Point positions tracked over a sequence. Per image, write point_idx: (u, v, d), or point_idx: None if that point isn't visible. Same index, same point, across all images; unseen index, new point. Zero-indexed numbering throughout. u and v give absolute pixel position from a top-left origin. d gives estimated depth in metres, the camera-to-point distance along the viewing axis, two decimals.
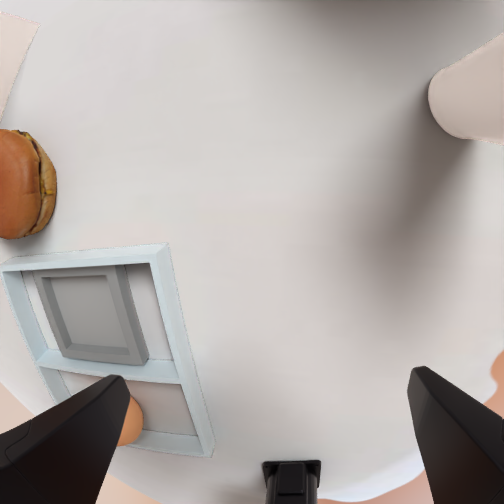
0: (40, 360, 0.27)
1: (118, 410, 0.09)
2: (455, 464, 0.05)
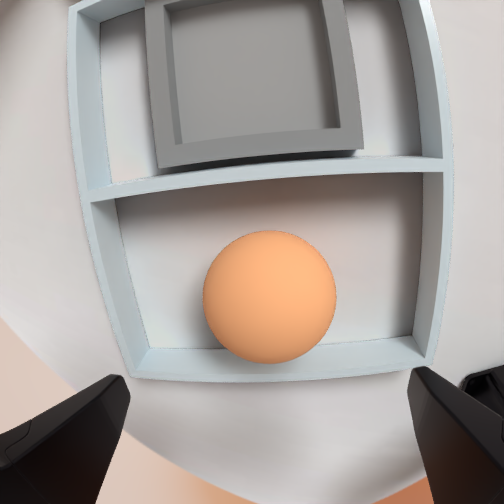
0: (98, 188, 0.15)
1: (118, 410, 0.09)
2: (454, 464, 0.05)
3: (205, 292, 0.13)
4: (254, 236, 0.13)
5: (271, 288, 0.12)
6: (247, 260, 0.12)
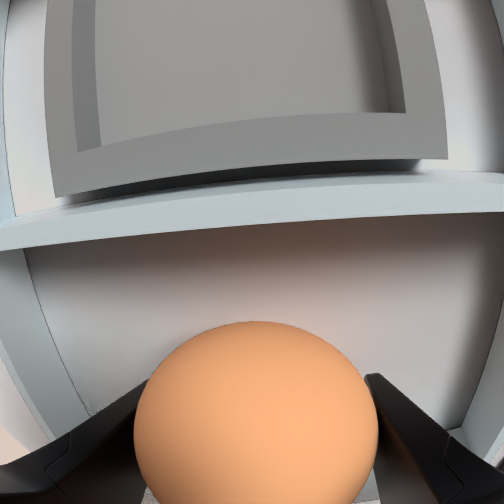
0: None
1: None
2: (397, 478, 0.05)
3: (134, 441, 0.06)
4: (220, 350, 0.06)
5: (252, 489, 0.04)
6: (201, 422, 0.05)
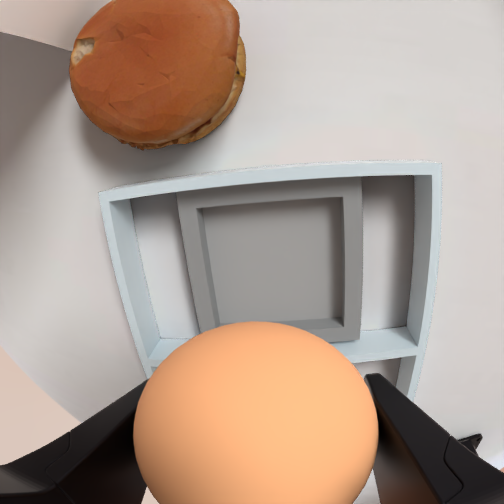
0: (155, 356, 0.19)
1: None
2: (397, 478, 0.05)
3: (134, 442, 0.06)
4: (220, 351, 0.06)
5: (252, 489, 0.04)
6: (200, 422, 0.05)
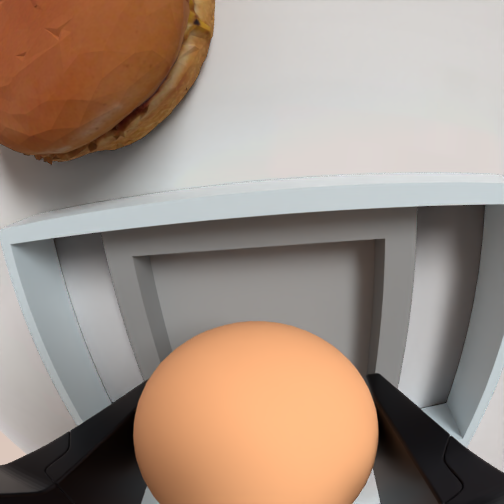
0: None
1: None
2: (397, 478, 0.05)
3: (134, 441, 0.06)
4: (220, 350, 0.06)
5: (252, 489, 0.04)
6: (200, 422, 0.05)
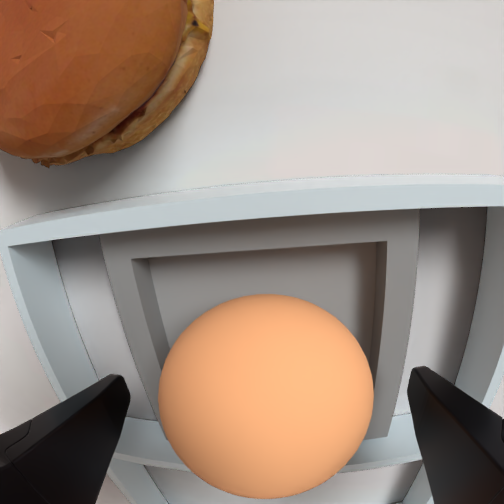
0: None
1: (118, 410, 0.09)
2: (454, 464, 0.05)
3: (160, 405, 0.07)
4: (239, 314, 0.07)
5: (275, 426, 0.06)
6: (228, 371, 0.06)
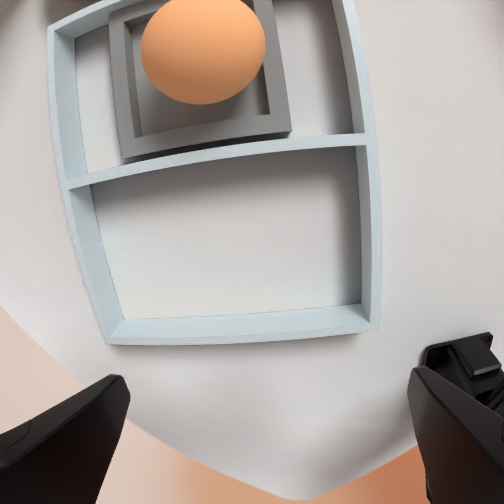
0: (74, 177, 0.17)
1: (118, 410, 0.09)
2: (455, 464, 0.05)
3: (148, 26, 0.11)
4: None
5: None
6: None
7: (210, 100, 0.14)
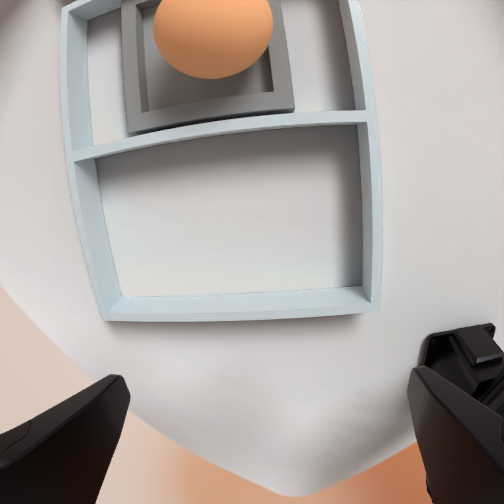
0: (80, 150, 0.17)
1: (118, 410, 0.09)
2: (455, 464, 0.05)
3: (163, 1, 0.11)
4: None
5: None
6: None
7: (218, 73, 0.14)
